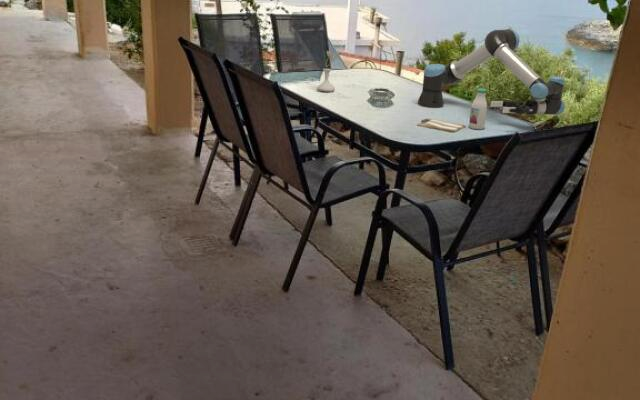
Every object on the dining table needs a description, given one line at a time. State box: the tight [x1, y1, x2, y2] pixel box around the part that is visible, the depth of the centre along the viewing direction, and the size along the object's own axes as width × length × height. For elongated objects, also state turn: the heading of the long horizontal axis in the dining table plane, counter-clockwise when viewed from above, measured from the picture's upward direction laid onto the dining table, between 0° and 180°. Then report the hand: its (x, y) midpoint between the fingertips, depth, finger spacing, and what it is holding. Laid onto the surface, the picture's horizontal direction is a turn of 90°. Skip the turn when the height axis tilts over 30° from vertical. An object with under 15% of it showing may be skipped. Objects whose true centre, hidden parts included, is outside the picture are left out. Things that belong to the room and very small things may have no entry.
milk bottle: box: [468, 88, 488, 130], centre depth 300 cm, size 8×8×20 cm
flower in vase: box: [317, 50, 336, 93], centre depth 372 cm, size 13×11×25 cm
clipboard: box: [416, 118, 466, 134], centre depth 303 cm, size 16×20×2 cm
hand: (496, 107), depth 302 cm, fingers open, 13 cm apart
